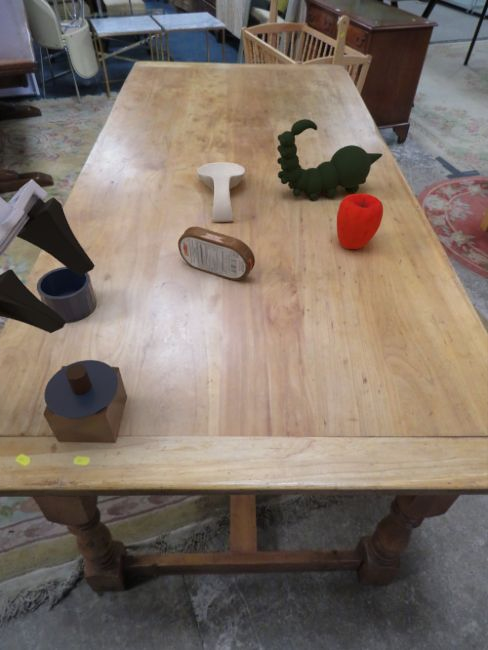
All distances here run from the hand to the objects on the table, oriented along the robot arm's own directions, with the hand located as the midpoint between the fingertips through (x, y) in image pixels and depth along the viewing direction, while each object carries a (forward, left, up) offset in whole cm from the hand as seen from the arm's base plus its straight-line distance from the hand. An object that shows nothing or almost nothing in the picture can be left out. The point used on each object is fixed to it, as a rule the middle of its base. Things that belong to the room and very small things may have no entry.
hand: (73, 297), depth 42 cm
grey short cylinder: (-13, +24, -23) cm, 36 cm away
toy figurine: (+36, +66, -24) cm, 79 cm away
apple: (+39, +44, -24) cm, 64 cm away
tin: (+11, +34, -24) cm, 43 cm away
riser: (-4, +1, -23) cm, 24 cm away
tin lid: (-4, +1, -17) cm, 17 cm away
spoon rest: (+11, +63, -24) cm, 69 cm away
